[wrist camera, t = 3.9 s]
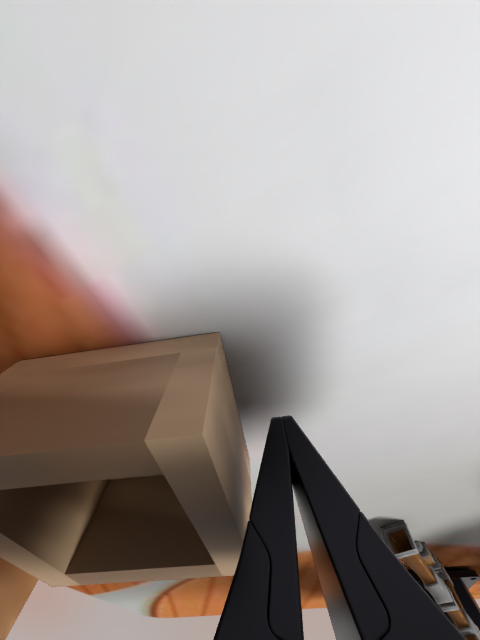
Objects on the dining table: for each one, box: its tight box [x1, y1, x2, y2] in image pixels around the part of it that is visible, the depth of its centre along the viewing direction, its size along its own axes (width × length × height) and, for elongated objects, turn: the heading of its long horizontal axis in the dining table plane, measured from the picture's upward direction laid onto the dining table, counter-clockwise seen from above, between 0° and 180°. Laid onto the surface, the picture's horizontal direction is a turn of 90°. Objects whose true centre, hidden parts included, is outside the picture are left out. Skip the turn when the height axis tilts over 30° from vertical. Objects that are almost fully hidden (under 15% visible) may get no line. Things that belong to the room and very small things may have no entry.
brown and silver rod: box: [379, 520, 480, 640], centre depth 15 cm, size 2×8×4 cm, turn 43°
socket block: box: [0, 332, 252, 587], centre depth 8 cm, size 8×8×4 cm
